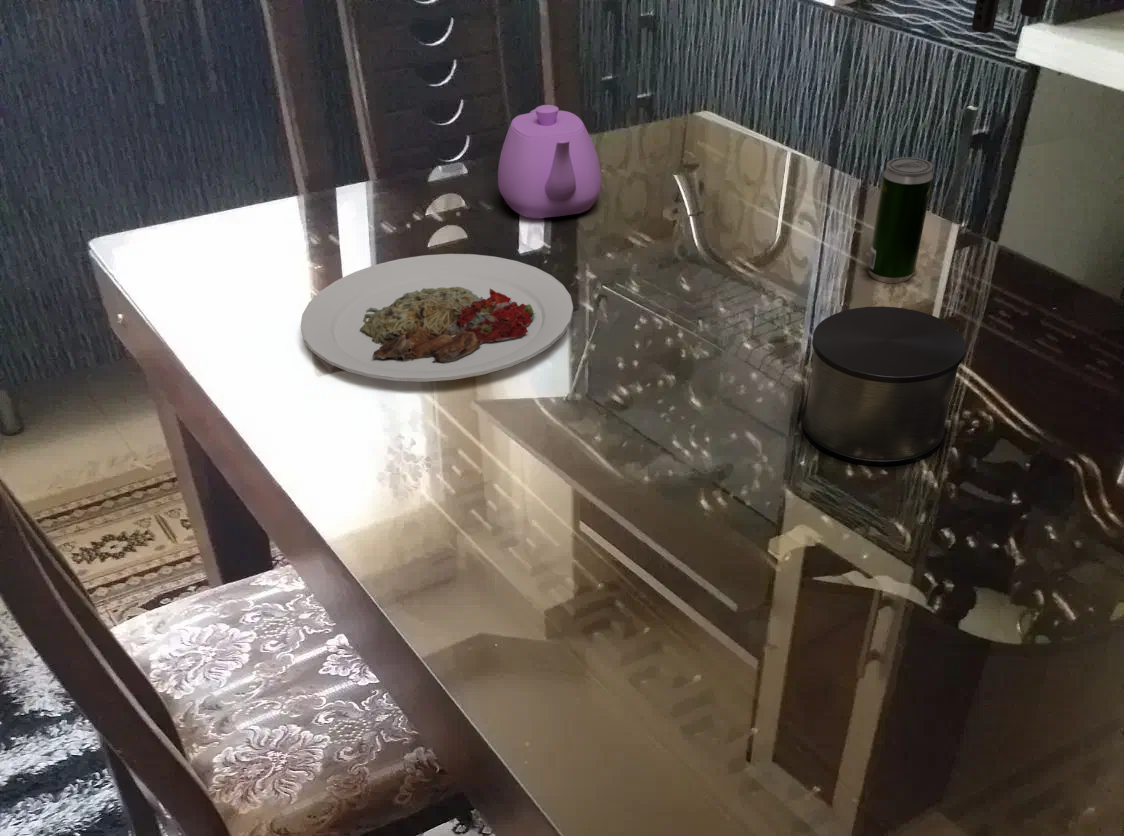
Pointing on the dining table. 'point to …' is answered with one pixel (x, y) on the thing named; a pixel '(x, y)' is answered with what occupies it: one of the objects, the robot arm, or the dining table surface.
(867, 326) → the steel bin
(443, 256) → the plated food
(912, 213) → the beer can
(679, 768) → the dining table surface
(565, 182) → the teapot
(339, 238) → the dining table surface
